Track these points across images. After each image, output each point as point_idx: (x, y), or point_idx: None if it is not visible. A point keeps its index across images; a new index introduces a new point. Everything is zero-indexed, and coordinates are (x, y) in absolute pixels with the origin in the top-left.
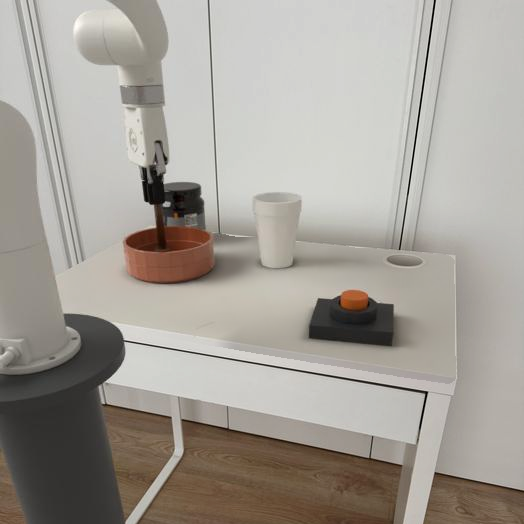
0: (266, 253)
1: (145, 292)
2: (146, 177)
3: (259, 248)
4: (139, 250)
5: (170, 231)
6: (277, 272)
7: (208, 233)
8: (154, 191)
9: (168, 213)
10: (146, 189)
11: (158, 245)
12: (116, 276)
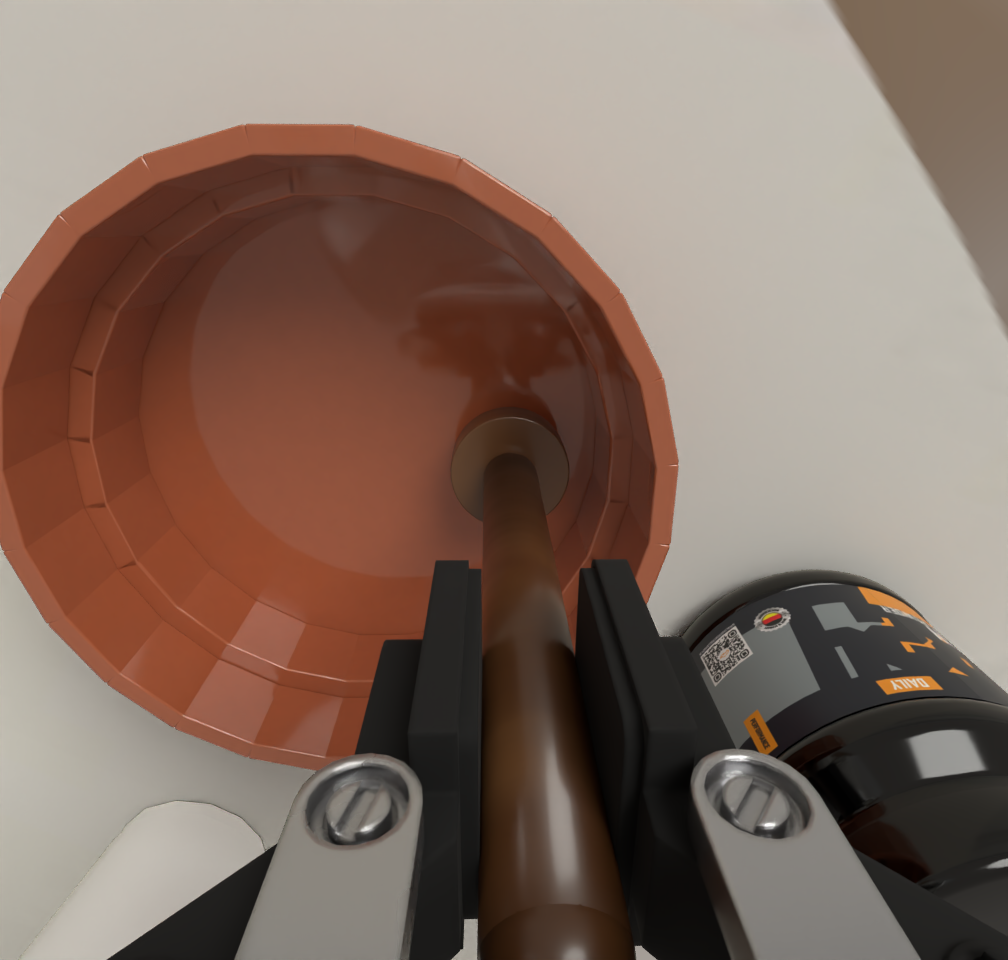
0: (115, 861)
1: (41, 142)
2: (667, 848)
3: (173, 867)
4: (125, 193)
5: None
6: (74, 806)
7: (312, 756)
8: (365, 713)
9: (818, 715)
10: (606, 676)
11: (511, 456)
12: (408, 73)
